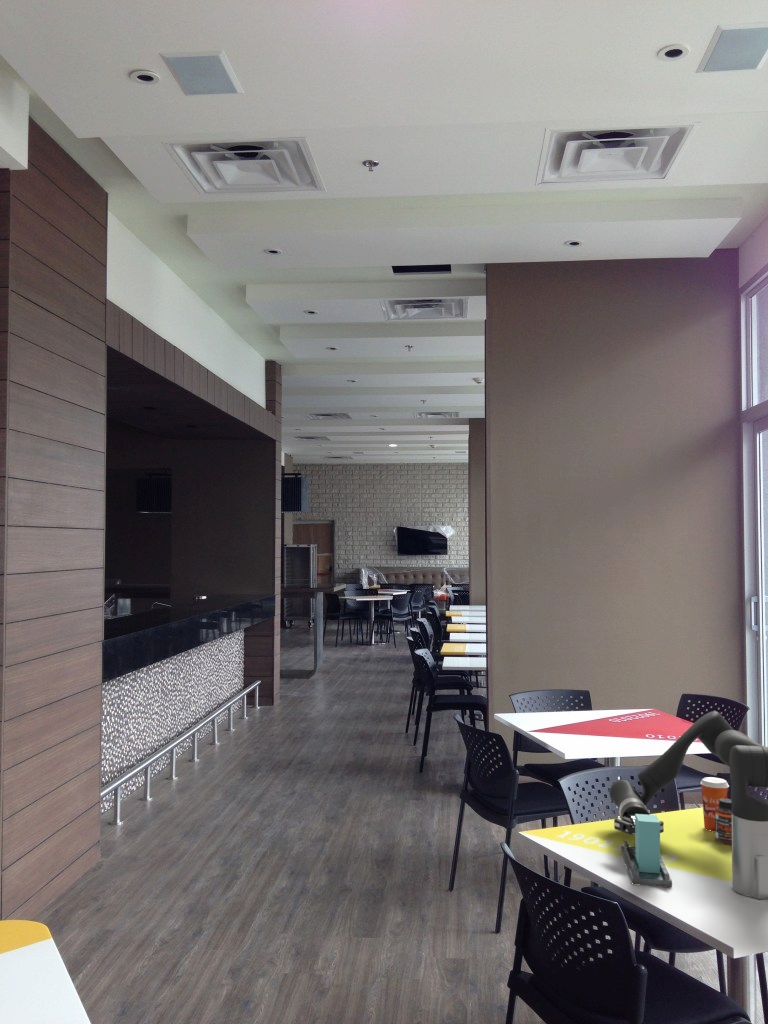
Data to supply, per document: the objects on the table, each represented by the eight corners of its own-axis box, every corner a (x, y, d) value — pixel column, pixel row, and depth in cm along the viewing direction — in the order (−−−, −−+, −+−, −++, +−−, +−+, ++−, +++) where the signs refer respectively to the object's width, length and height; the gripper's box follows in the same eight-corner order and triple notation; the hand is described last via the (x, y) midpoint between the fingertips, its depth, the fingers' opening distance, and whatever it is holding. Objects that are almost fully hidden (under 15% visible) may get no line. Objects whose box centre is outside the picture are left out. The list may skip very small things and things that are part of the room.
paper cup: (697, 829, 237) (697, 780, 238) (704, 823, 243) (704, 775, 244) (726, 835, 232) (725, 785, 233) (732, 828, 239) (731, 779, 240)
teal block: (635, 863, 204) (635, 813, 205) (656, 864, 203) (656, 815, 204) (638, 871, 198) (638, 821, 199) (660, 873, 198) (660, 822, 198)
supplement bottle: (715, 843, 225) (715, 801, 226) (714, 837, 231) (714, 796, 231) (739, 846, 223) (738, 804, 224) (738, 840, 229) (737, 798, 229)
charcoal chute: (620, 851, 217) (620, 840, 217) (656, 854, 216) (656, 842, 216) (632, 884, 195) (632, 871, 195) (671, 887, 193) (671, 874, 193)
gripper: (660, 831, 220) (671, 853, 203) (609, 827, 222) (616, 849, 205) (660, 802, 221) (671, 822, 203) (609, 799, 223) (615, 818, 206)
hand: (643, 836), depth 204 cm, fingers closed
